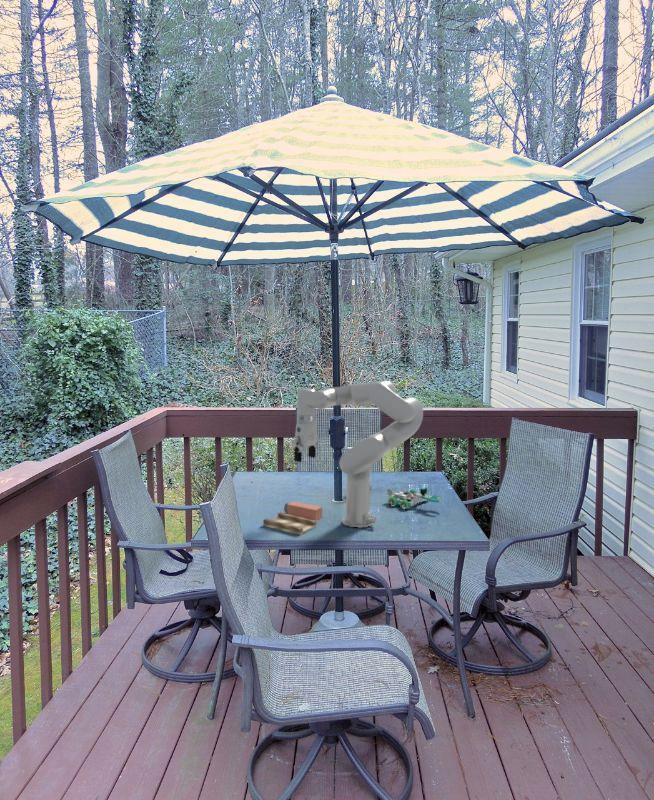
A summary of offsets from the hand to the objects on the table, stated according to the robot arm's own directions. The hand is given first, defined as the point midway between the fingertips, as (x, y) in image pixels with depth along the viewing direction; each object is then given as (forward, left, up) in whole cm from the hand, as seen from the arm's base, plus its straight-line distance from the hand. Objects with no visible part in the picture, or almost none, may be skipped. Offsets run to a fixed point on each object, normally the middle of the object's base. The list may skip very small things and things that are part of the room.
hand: (304, 459), depth 248 cm
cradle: (-3, +15, -24) cm, 28 cm away
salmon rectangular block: (-1, +2, -24) cm, 24 cm away
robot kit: (-34, -39, -25) cm, 57 cm away
